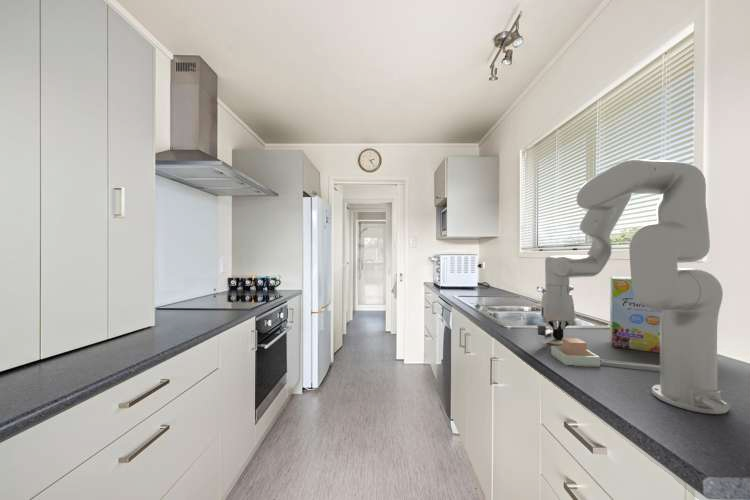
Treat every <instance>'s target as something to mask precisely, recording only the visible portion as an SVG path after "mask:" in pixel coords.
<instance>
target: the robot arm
mask: <svg viewBox="0 0 750 500" xmlns="http://www.w3.org/2000/svg"><path fill="white" fill-rule="evenodd" d="M706 193H707V185H706V178H705V175H704V173H703V172H702V170H701V169H699V168H698V167H697V166H696V165H693V164H690V163H687V162H682V161H671V160H659V159H657V160H656V159H655V160H653V159H651V160H650V159H628V160H624V161H620V162H618V163H617V164H615V165H613V166H611V167H609V168H608V169H606V170H604V171H602V172H601V173H599V174H598V175H595V176H594V177H592V178H590V179H589V180H587V181H586V182H585V183H583V184H582V186H581V187H580V188H579V189H578V192H577V194H576V197H575V199H576V200H575V201H576V204H577V206H579V208H581V209H583V210H586V212H585V214H584V216H583V218H582V219H581V222H580V223H579V230H580V231H581V232H582V233H583V234H585V235H586V236H588V237H590V238H591V239H592V240H591V241H592V243H591V246H590V248H589V250H588V251H587V254H585V255H583V254H582V255H580V254H579V255H577V254H576V255H549V256H546V257H545V260H544V266H545V267H544V268H545V269H544V272H545V275H544V278H545V279H544V280H545V291H544V292H542V296H541V303H540V304H541V305H540V317H541V322H542V323H543V324H546V325H549V326H551V327H552V328H553V337H554V338H555V339H556V340H558V341H559V340H560V341H562V338H564V330H565V329H566V328H567V326H570V325H574V324H575V318H576V315H575V314H576V312H575V304H574V298H573V294H572V293H571V291H574V290H575V288H574V286H571V285H570V278H591V277H595V276H597V275H598V274H600V273H601V272H602V270H603V269H604V268H605V266H606V265H607V263H608V261H609V260H610V258H611V255H612V249H613V248H612V240H611V233H612V232H613V230H614V229H615V227H616V225H617V223H618V222H619V220H620V218H621V217H622V215H623V213H624V211H625V210H626V208H627V207H628V205H629V203H630V201H631V199H632V197H633V194H637V195H638V194H639V195H640V194H642V195H643V194H644V195H645V194H648V195H661V197H660V199H658V203H657V205H656V218H657V219H656V220H657V221H656V222H654V223H649V224H646V225H643V226H641V227H639V228H638V229H637V230H636V231H635V232H634V233H633V235H632V237H631V238H630V241H629V247H628V248H629V266H630V268H629V269H630V277H631V282H632V289H633V293H634V295H635V297H636V299H637V300H638V301H639V302H640V303H641V304H642V305H643V306H645V307H647V308H650V309H653V310H663V313H662V316H661V320H660V353H659V365H660V371H659V384H654V385H653V386H652V387H651V394H652V395H653V396H654V397H656V398H657V399H659V400H660V401H662V402H664V403H667V404H668V405H671V406H675V407H677V408H680V409H684V410H687V411H691V412H696V413H700V414H701V413H702V414H708V415H723V414H726V413H727V412H728V411H729V410H730V409H731V408H732V406H731V404H730V403H728V402H726V401H725V400H722V391H719V390H718V323H719V322H718V321H719V314H720V310H721V307H722V306H721V305H722V302H723V292H724V291H723V288H722V284H721V282H720V281H719V280H718V278H716V276H715V275H713V274H712V273H709V272H707V271H705V270H702V269H697V268H690V267H689V268H687V267H686V268H681V267H680V268H679V267H678V264H680V263H681V264H684V263H693V262H697V261H699V260H700V261H701V260H702V259H703V258H705V257H706V256H707V255H708V253H709V251H710V247H711V244H710V243H711V242H710V231H709V219H708V209H707V194H706ZM557 326H558V327H557Z"/></svg>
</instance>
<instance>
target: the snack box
mask: <svg viewBox="0 0 750 500" xmlns="http://www.w3.org/2000/svg"><path fill="white" fill-rule="evenodd" d="M609 303H610V304H609V305H610V306H609V307H610V308H609V311H610V312H609V315H610V316H609V333H610V334H609V341H610V344H611V346H612V347H616V348H621V349H628V350H629V349H631V350H636V351H643V352H644V351H645V352H648V353H649V352H652V353H656V354H657V353H658V354H660V320H661V316H662V313H663V310H653V309H650V308H647V307H645V306H643V305H642V304H641V303H640V302H639V301H638V300H637V299H636V297H635V295H634V293H633V289H632V282H631V276H613V275H611V276H610V301H609Z"/></svg>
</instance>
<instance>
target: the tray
mask: <svg viewBox="0 0 750 500" xmlns="http://www.w3.org/2000/svg"><path fill="white" fill-rule="evenodd" d="M550 348H551V350H550V351H551V356H553V357H554V358H555V359H556V358H557V360H558V362H560V363H561V362H562V363H561V364H562V365H564V366H568V365H574V367H592V368H594V367H595V368H600V367H601V365H600V359H601V357H600V356H599V355H597V354H596V353H593V352H592V351H591V350H589V349H587V356H575V355H565V354H564V353H563V352H562V345H550Z"/></svg>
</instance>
